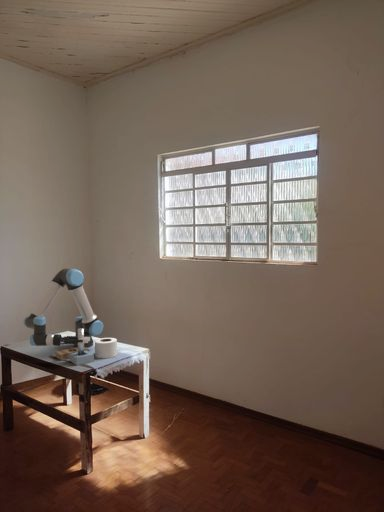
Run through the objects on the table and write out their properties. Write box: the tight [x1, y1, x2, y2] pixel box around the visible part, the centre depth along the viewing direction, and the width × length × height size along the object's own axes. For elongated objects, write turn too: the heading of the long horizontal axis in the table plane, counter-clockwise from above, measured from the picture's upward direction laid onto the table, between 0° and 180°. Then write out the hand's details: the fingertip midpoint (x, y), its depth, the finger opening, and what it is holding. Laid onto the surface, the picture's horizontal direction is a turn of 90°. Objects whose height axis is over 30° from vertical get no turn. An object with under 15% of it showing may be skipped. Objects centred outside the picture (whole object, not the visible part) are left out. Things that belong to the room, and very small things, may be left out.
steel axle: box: [78, 328, 84, 356], centre depth 248 cm, size 4×4×18 cm
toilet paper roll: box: [94, 337, 118, 359], centre depth 263 cm, size 16×15×11 cm
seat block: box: [69, 350, 95, 366], centre depth 249 cm, size 12×12×5 cm
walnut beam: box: [55, 347, 90, 361], centre depth 261 cm, size 20×10×4 cm, turn 130°
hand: (88, 339), depth 248 cm, fingers closed on steel axle, 4 cm apart
